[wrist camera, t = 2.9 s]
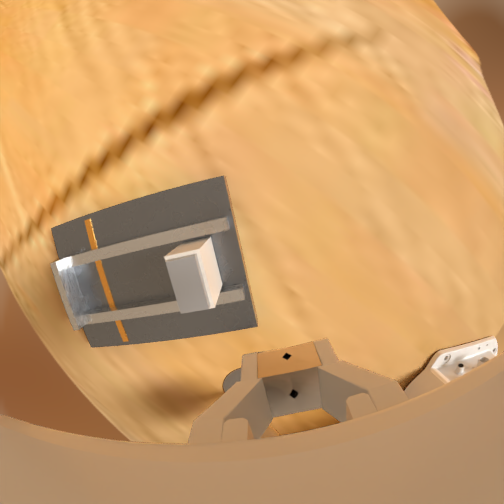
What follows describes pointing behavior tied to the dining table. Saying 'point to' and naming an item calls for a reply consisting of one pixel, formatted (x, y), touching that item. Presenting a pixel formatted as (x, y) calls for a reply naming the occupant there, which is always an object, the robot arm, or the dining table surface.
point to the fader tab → (194, 275)
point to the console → (150, 267)
